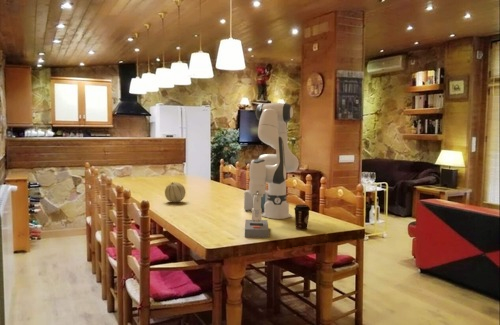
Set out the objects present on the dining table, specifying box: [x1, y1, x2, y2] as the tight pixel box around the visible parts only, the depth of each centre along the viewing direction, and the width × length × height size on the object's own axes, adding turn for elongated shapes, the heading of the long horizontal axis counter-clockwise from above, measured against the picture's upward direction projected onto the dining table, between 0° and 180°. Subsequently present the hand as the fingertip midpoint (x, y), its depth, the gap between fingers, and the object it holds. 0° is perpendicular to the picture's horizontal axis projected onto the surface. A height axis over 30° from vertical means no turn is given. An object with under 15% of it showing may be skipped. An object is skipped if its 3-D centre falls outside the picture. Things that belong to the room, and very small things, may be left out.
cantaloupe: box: [164, 181, 186, 203], centre depth 297 cm, size 15×15×15 cm
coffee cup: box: [293, 204, 311, 231], centre depth 225 cm, size 9×8×13 cm
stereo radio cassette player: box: [243, 183, 268, 212], centre depth 274 cm, size 21×8×20 cm, turn 89°
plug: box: [251, 208, 263, 223], centre depth 216 cm, size 4×5×7 cm
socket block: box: [244, 219, 270, 239], centre depth 217 cm, size 22×12×5 cm, turn 0°
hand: (256, 216), depth 216 cm, fingers closed on plug, 3 cm apart
